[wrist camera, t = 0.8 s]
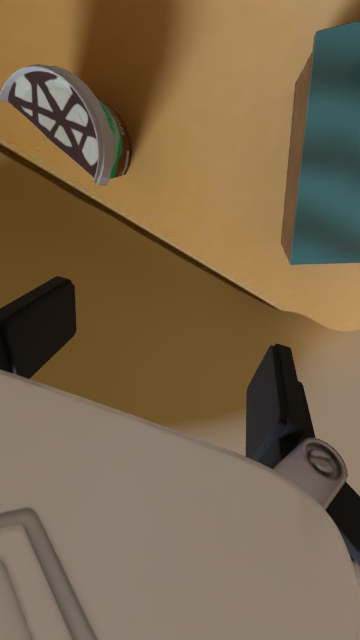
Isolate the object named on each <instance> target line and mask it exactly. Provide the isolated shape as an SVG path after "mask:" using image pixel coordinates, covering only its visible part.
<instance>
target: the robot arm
mask: <svg viewBox="0 0 360 640" xmlns="http://www.w3.org/2000/svg"><path fill="white" fill-rule="evenodd" d="M75 311H76V310H75V287H74V285H73V284H72V282H71V280H69V279H66V278H63V277H59V276H57V277H55V278H53V279H51V280H49V281H48V282H46V283H44V284H42V285H41V286H39V287H37V288H35V289H34V290H32V291H30V292H28V293H27V294H25V295H23V296H21V297H20V298H18V299H16V300H14V301H13V302H11V303H9V304H8V305H6V306H4V307H2V308H0V640H360V496H359V495H358V494H356V492H355V491H354V490H353V489H352V488H351V487H350V486H349V485H348V484H347V483H346V479H347V476H348V474H347V468H346V465H345V463H344V461H343V459H342V458H341V456H340V455H339V453H338V452H337V451H336V450H335V449H334V448H333V447H331V446H330V445H329V444H328V443H326V442H324V441H322V440H320V439H317V438H315V434H314V430H313V426H312V421H311V417H310V413H309V409H308V405H307V400H306V396H305V392H304V388H303V385H302V383H301V382H298V379H297V375H296V370H295V366H294V361H293V357H292V352H291V348H289V347H287V346H283V345H280V344H276V345H275V346H272V345H271V346H270V347H269V349H268V351H267V352H266V354H265V356H264V358H263V360H262V362H261V364H260V365H259V367H258V369H257V371H256V373H255V375H254V377H253V378H252V380H251V382H250V384H249V386H248V389H247V405H246V406H247V407H246V409H247V410H246V457H245V456H243V455H240V454H238V453H235V452H233V451H230V450H227V449H225V448H222V447H219V446H216V445H214V444H211V443H209V442H206V441H203V440H201V439H198V438H195V437H192V436H190V435H186V434H184V433H181V432H178V431H176V430H173V429H170V428H167V427H164V426H162V425H159V424H156V423H153V422H150V421H147V420H145V419H142V418H139V417H136V416H133V415H131V414H128V413H125V412H122V411H119V410H116V409H113V408H111V407H108V406H105V405H102V404H99V403H96V402H94V401H90V400H88V399H85V398H82V397H79V396H76V395H74V394H71V393H68V392H65V391H62V390H59V389H56V388H53V387H50V386H47V385H45V384H41V383H39V382H36V381H33V380H30V378H31V377H32V376H33V375H34V374H35V373H36V372H37V371H38V370H39V369H40V368H41V367H42V366H43V365H44V364H45V363H46V362H47V361H48V360H49V359H50V358H51V357H52V356H53V355H54V354H56V353H57V352H58V351H59V350H60V349H61V348H62V347H63V346H64V345H65V344H66V343H67V342H68V341H69V340H70V339H71V338H72V337H73V336H74V335H75V333H76V312H75Z"/></svg>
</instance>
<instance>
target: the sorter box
mask: <svg viewBox="0 0 360 640" xmlns="http://www.w3.org/2000/svg"><path fill="white" fill-rule="evenodd" d="M311 61H312V54H311V56H310V57H309V59H308V61H307V63H306V65H305V67H304V69H303V70H302V72H301V74H300V76H299V78H298V80H297V81H296V83H295V94H294V105H293V116H292V127H291V138H290V149H289V160H288V171H287V182H286V193H285V204H284V215H283V226H282V237H281V245H282V247H283V249H284V251H285V254H286V256H287V258H288V260H290V251H291V242H292V233H293V223H294V214H295V205H296V196H297V187H298V178H299V169H300V160H301V151H302V142H303V133H304V124H305V115H306V106H307V97H308V88H309V79H310V70H311Z"/></svg>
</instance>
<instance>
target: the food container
mask: <svg viewBox="0 0 360 640" xmlns="http://www.w3.org/2000/svg"><path fill="white" fill-rule="evenodd" d="M0 100H2V101H5V102H8V103H11V104H12V105H13V106H14V107H15V108H16V109H17V110H19V111H20V112H21V113H22V114H23V115H24V116H26V117H27V118H28V119H29V120H30V121H31V122H32V123H33V124H34V125H35V126H36V127H37V128H39V129H40V130H41V131H42V132H43V133H44V134H45V135H46V136H47V137H48V138H49V139H50V140H51V141H52V142H53V143H54V144H55V145H57V146H58V147H59V148H60V149H62V150H63V151H64V152H65V153H66V154H68V155H69V156H70V157H71V158H72V159H74V160H75V161H76V162H77V163H78V164H79V165H80V166H81V167H83V168H84V169H85V170H86V171H87V172H88V173H89V174H91V175H92V176H93V177H94V180H93V183H98V184H100V185H107V183H108V181H109V179H111V178H115V177H119V176H122V175H125V174H126V172H127V170H128V167H129V163H130V157H131V146H130V138H129V135H128V132H127V129H126V126H125V124H124V123H123V121H122V119H121V118H120V116H119V115H118V114H117V113H116V112H115V111H114V110H113V109H112V108H110V107H109V106H108V105H106V104H104V103H103V102H101V101H100V100H98V99H97V98H96V97H95V95H94V94H93V92H92V91H91V90H90V88H89V87H88V86H87V85H86V84H85V83H84V82H83V81H82V80H81V79H79V78H78V77H77V76H76V75H75V74H73V73H71V72H69V71H67V70H66V69H63V68H60V67H57V66H49V65H39V64H37V65H30V66H27V67H25V68H22V69H20V70H18V71H16V72H15V73H14V74H12V75H11V76H10V77H9V79H8V80H7V81H6V82H5V84H4V86H3V88H2V90H1V94H0Z"/></svg>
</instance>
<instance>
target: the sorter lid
mask: <svg viewBox="0 0 360 640" xmlns="http://www.w3.org/2000/svg"><path fill="white" fill-rule="evenodd" d="M289 263H290V265H299V264H331V263H360V21H357V22H353V23H348V24H344V25H340V26H336V27H332V28H328V29H324V30H320V31H317V32H316V34H315V36H314V43H313V52H312V61H311V70H310V79H309V88H308V97H307V106H306V115H305V124H304V133H303V142H302V151H301V160H300V169H299V178H298V187H297V196H296V205H295V214H294V223H293V233H292V242H291V251H290V260H289Z"/></svg>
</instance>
